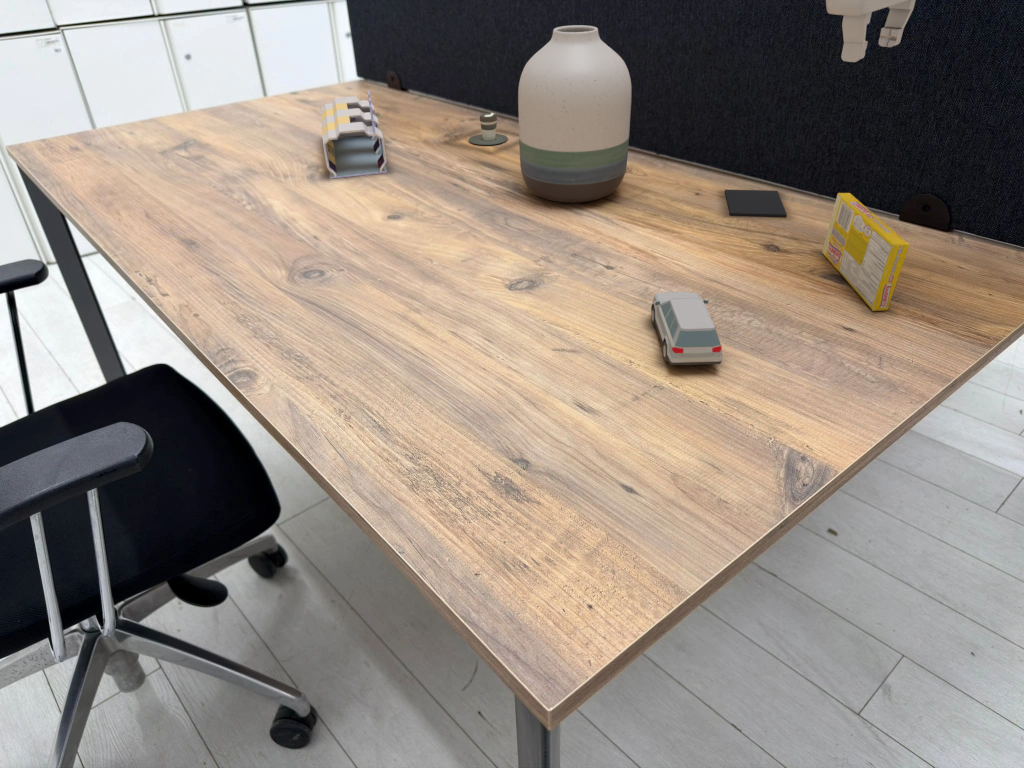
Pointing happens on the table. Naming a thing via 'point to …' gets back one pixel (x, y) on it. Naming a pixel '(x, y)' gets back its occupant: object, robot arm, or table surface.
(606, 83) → the vase
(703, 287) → the table surface
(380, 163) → the diorama
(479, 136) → the striped post on disc
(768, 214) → the mat
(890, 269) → the candy box
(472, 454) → the table surface
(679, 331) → the toy car
